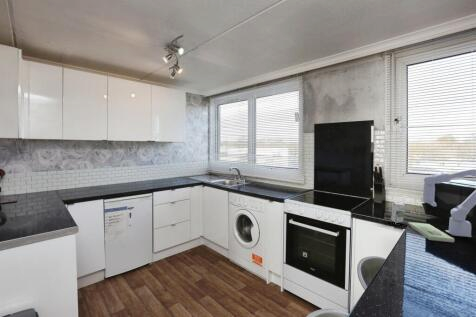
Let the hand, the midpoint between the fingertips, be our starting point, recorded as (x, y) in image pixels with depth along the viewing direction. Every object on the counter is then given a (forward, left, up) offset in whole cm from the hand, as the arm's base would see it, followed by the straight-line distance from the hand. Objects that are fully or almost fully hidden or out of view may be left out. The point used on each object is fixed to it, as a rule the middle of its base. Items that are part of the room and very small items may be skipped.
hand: (427, 214), depth 150 cm
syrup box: (+15, -6, -10) cm, 19 cm away
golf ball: (+2, +15, -7) cm, 17 cm away
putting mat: (+3, +9, -9) cm, 13 cm away
